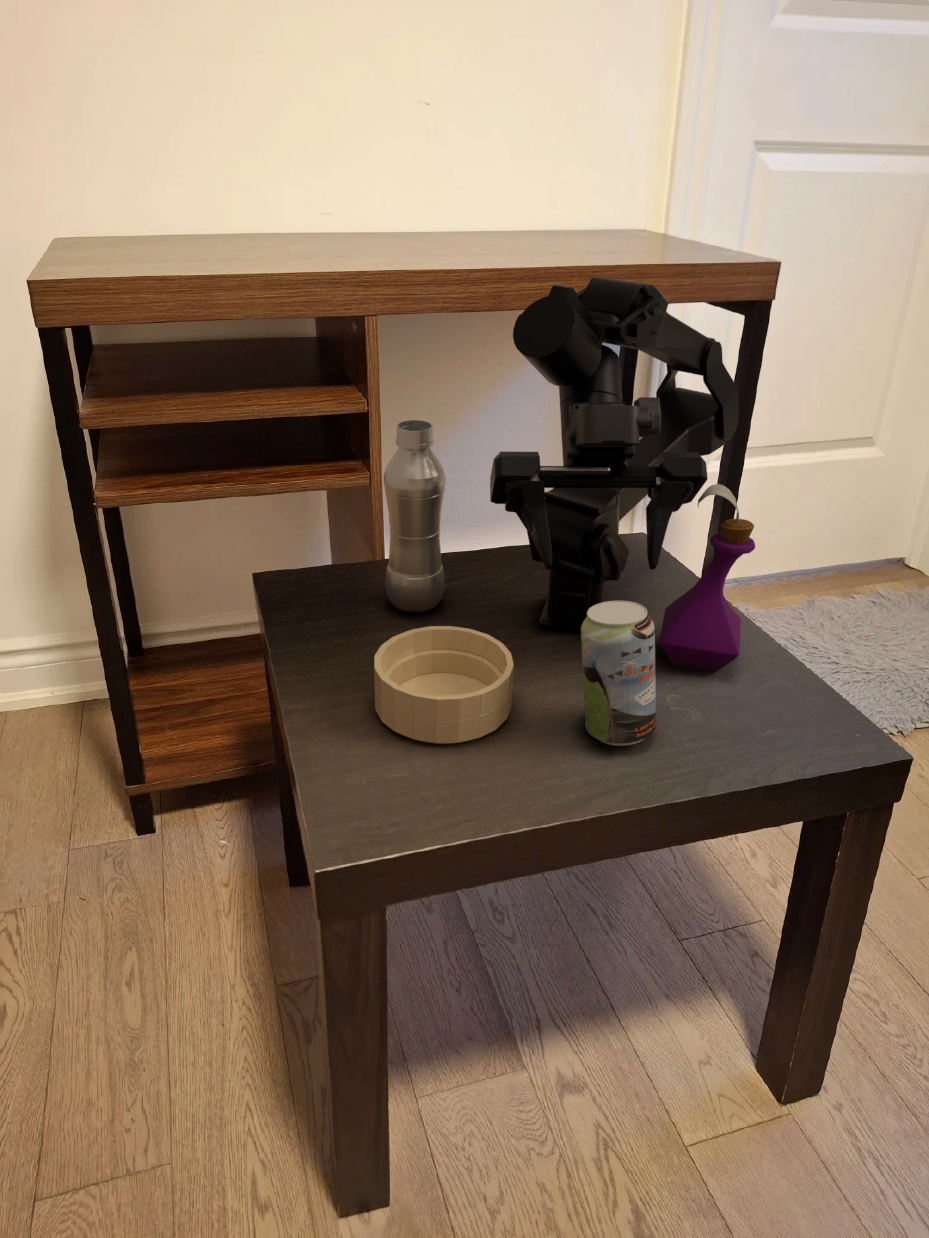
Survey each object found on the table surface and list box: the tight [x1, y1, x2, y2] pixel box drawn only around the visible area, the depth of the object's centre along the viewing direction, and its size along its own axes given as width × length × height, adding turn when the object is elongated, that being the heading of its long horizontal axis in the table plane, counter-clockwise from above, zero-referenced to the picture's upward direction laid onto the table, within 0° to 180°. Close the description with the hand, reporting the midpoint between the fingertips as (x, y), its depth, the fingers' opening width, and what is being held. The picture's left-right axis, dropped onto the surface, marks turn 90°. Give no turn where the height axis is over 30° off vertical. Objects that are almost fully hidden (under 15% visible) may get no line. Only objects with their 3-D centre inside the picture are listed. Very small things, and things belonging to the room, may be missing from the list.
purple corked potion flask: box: [658, 483, 756, 673], centre depth 89 cm, size 8×8×18 cm
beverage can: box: [580, 600, 657, 747], centre depth 79 cm, size 6×7×12 cm
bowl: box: [373, 625, 515, 745], centre depth 84 cm, size 12×12×5 cm
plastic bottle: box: [383, 419, 447, 613], centre depth 97 cm, size 6×7×20 cm
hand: (601, 568), depth 82 cm, fingers open, 9 cm apart
